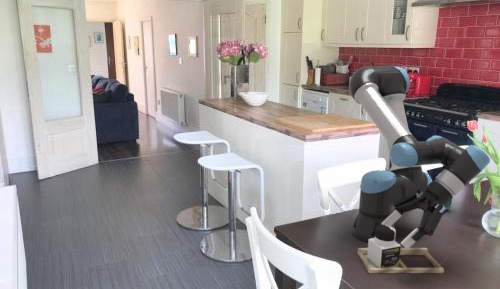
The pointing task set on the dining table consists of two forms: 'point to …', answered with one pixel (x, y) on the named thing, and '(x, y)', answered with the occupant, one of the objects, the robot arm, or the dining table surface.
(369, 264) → the wooden divided tray
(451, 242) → the dining table surface
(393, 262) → the medicine bottle
